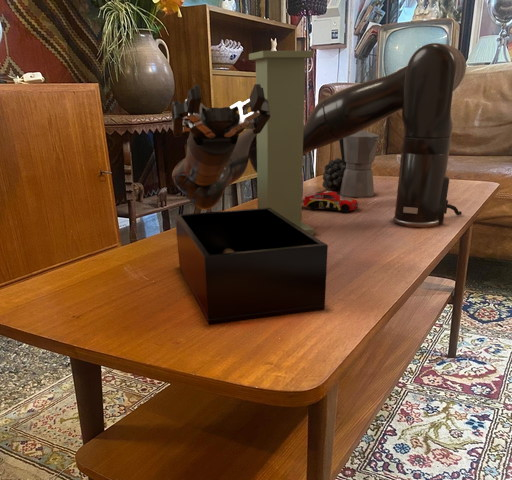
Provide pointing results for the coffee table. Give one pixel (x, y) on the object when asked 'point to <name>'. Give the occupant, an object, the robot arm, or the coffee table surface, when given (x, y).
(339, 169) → the fruit
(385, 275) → the coffee table surface
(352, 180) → the coffeepot
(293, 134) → the post
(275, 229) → the open black box
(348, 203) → the race car
